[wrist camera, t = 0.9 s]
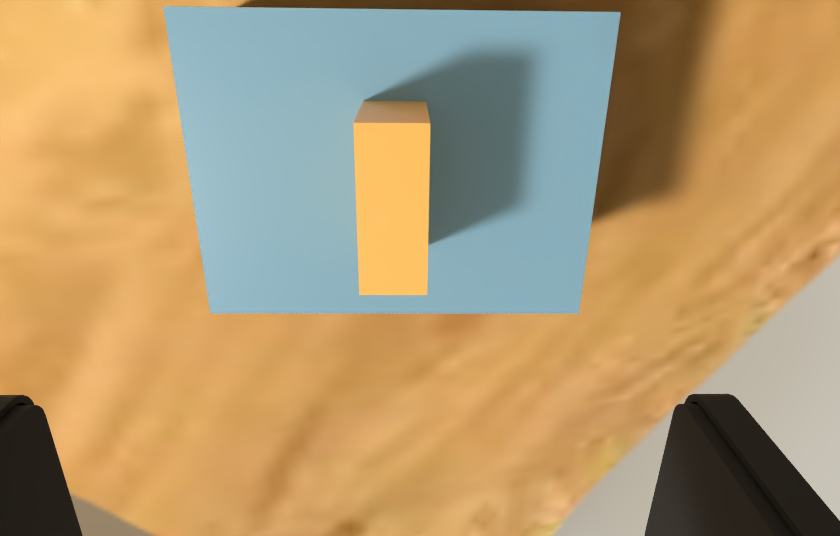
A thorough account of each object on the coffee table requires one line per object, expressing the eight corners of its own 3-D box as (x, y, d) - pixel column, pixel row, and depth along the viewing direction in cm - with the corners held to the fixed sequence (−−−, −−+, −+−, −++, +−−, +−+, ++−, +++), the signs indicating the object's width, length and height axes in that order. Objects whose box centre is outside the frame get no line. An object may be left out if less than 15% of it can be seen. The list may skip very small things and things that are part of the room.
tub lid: (603, 11, 23) (672, 14, 17) (567, 293, 28) (610, 370, 22) (183, 5, 23) (103, 7, 17) (223, 292, 28) (173, 371, 22)
